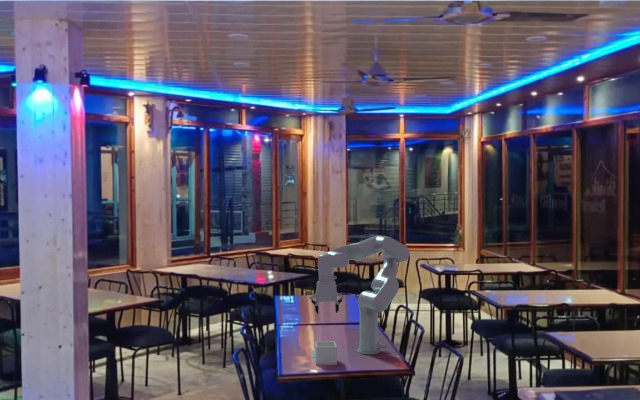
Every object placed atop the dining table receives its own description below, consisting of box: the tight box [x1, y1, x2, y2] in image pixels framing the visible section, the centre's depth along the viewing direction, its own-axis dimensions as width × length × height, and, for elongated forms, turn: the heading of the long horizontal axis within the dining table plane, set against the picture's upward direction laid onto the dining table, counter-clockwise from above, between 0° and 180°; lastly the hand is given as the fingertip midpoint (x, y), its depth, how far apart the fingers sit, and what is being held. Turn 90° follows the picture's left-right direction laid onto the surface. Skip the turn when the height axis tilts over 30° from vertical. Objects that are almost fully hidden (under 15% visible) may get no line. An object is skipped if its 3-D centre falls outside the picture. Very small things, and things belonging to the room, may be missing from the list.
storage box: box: [314, 340, 338, 367], centre depth 298 cm, size 10×10×9 cm
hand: (327, 312), depth 304 cm, fingers open, 9 cm apart
